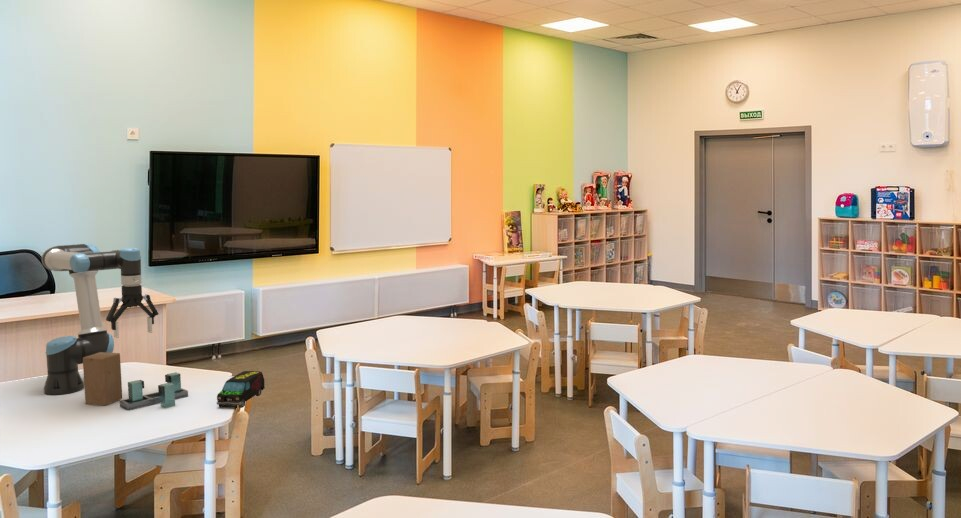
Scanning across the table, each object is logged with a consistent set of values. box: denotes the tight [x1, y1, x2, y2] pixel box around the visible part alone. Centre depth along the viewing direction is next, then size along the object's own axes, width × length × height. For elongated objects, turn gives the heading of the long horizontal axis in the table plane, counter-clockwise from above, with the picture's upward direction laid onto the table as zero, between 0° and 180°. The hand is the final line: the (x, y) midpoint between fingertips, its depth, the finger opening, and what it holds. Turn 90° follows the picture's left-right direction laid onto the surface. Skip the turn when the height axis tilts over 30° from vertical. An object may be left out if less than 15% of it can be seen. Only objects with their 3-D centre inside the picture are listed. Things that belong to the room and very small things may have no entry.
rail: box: [119, 372, 189, 411], centre depth 289 cm, size 8×25×10 cm, turn 140°
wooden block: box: [82, 352, 123, 406], centre depth 288 cm, size 10×10×20 cm
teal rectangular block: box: [127, 379, 145, 403], centre depth 283 cm, size 4×5×9 cm
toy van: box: [216, 370, 266, 409], centre depth 291 cm, size 11×25×10 cm, turn 173°
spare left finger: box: [157, 382, 176, 409], centre depth 283 cm, size 4×5×9 cm
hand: (133, 334), depth 288 cm, fingers open, 13 cm apart
